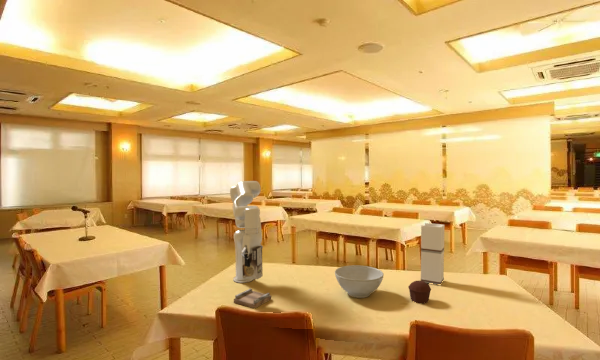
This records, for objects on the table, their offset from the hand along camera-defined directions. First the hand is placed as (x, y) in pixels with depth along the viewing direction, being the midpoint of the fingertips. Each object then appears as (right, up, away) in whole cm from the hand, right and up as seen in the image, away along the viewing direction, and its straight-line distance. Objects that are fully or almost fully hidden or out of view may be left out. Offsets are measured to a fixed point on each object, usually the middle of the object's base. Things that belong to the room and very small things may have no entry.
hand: (252, 264), depth 178 cm
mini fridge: (+107, -18, +29) cm, 112 cm away
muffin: (+89, -20, +1) cm, 91 cm away
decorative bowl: (+58, -19, +10) cm, 62 cm away
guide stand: (0, -20, +1) cm, 20 cm away
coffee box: (0, -7, 0) cm, 7 cm away
